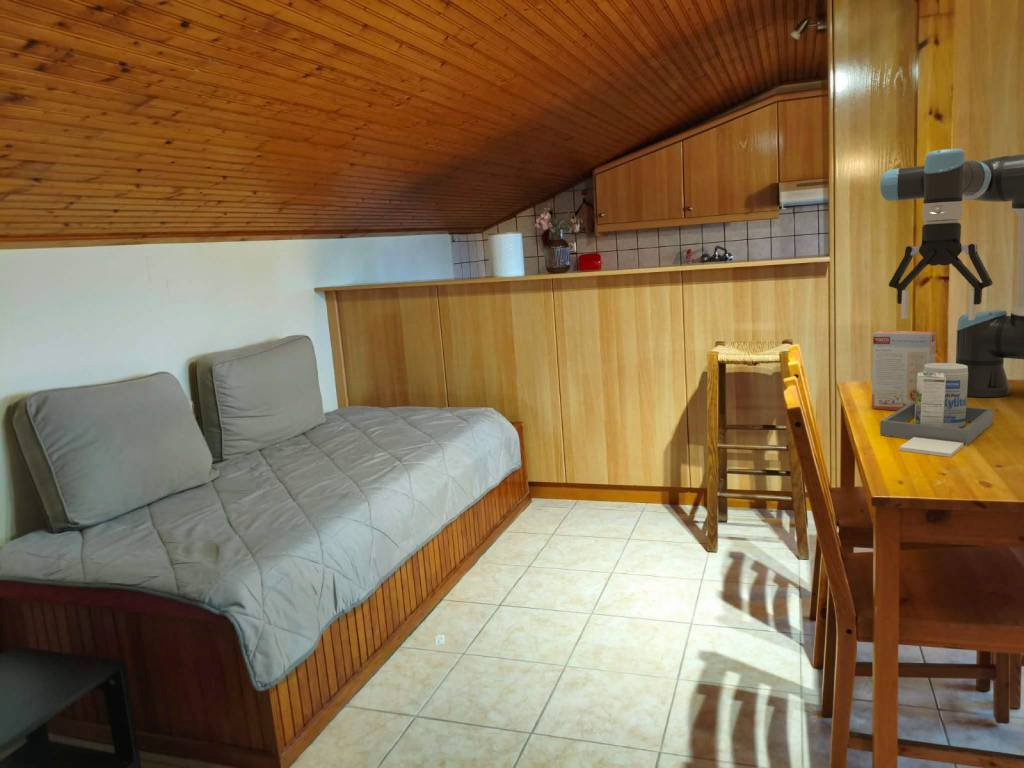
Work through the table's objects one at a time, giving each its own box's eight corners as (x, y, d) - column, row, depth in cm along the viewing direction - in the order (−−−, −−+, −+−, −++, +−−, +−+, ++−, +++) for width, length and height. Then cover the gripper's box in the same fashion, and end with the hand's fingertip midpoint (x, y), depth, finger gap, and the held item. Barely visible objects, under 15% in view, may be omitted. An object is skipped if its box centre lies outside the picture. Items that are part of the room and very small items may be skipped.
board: (913, 440, 174) (913, 437, 174) (963, 446, 167) (963, 442, 167) (899, 450, 167) (899, 447, 167) (950, 457, 160) (950, 453, 160)
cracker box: (934, 409, 202) (937, 330, 198) (928, 414, 197) (931, 333, 194) (877, 404, 211) (880, 329, 207) (870, 409, 207) (872, 331, 203)
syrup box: (913, 432, 181) (915, 371, 179) (942, 433, 179) (944, 372, 176) (914, 438, 176) (916, 375, 174) (943, 439, 174) (946, 376, 171)
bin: (911, 415, 197) (911, 402, 196) (992, 423, 185) (993, 409, 184) (880, 435, 180) (880, 420, 179) (966, 445, 168) (967, 430, 167)
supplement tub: (946, 431, 180) (949, 370, 177) (911, 424, 188) (913, 365, 186) (974, 426, 184) (978, 365, 181) (939, 418, 192) (941, 360, 190)
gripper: (876, 226, 174) (873, 319, 178) (1004, 219, 158) (998, 322, 161) (886, 225, 180) (883, 316, 183) (1011, 218, 163) (1005, 318, 167)
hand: (937, 319), depth 172 cm, fingers open, 13 cm apart
